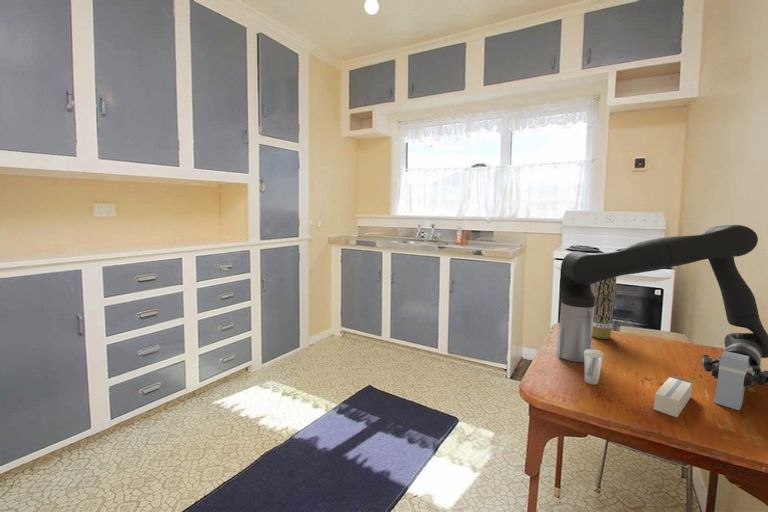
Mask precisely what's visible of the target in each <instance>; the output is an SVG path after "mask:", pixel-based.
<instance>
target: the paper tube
mask: <svg viewBox="0 0 768 512" xmlns="http://www.w3.org/2000/svg"><path fill="white" fill-rule="evenodd" d="M616 284H617V277H613V278H610V279H606V280H603V281H599V282H596V283H593V288H592V289H593V290H592V293H593V295H594V297H595V307H594V318H593V330H592V338H596V339H599V340H601V339H602V340H607V339H608V340H609V339H611V337H612V327H613V318H614V309H615V298H616V297H615V296H616V295H615V294H616Z"/></svg>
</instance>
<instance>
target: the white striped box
mask: <svg viewBox="0 0 768 512" xmlns="http://www.w3.org/2000/svg"><path fill="white" fill-rule="evenodd" d="M692 389H693V381H691V380H688V379H684V378H680V377H677V376H674V375H670V376H669V377H668V378H667V379H666V380H665V382H664V383H663V384H662V385H661V386H660V387H659V388H658V390H657V391H656V392H655V394H654V401H653V402H654V403H653V410H655V411H656V412H660V413H663V414H666V415H669V416H672V417H674V418H678V417H679V415H680V414H681V412H682V411H683V409H684V408H685V406H686V405H687V404H688V402H689V400H690V399H691V397H692V392H693V391H692Z"/></svg>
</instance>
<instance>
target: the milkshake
mask: <svg viewBox="0 0 768 512" xmlns="http://www.w3.org/2000/svg"><path fill="white" fill-rule="evenodd" d="M593 346H594V344H593V342H591V349H586V350H585V351H584V362H583V365H584V366H583V368H584V369H583V372H584V373H583V374H584V376H583V380H584V382H585V383H587V384H589V385H598V384H599V381H600V380H599V379H600V374H601V368H602V363H603V358H604V354H603V352H602V351H601V350H599V349H594V347H593Z"/></svg>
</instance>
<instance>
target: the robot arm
mask: <svg viewBox="0 0 768 512" xmlns="http://www.w3.org/2000/svg"><path fill="white" fill-rule="evenodd" d="M758 242H759V237H758V234H757V233H756V231H754V230H753V229H752V228H750V227H748V226H745V225H741V224H727V225H718V226H717V225H716V226H713V227H710V228H708V229H707V230H706V231H705V232H704V233H702V234H694V235H678V236H677V235H675V236H666V237H659V238H653V239H648V240H643V241H640V242H636V243H633V244H631V245H629V246H627V247H624V248H623V249H620V250H618V251H613V252H606V253H593V254H592V253H588V252H587V253H586V252H583V251H576V250H575V251H571V252H568V253H567V254H566V255H565V256H564V258H563V259H562V261H561V264H560V271H559V274H560V275H559V276H560V278H559V293H560V295H561V303H560V316H559V317H560V318H559V323H558V328H557V329H558V330H557V342H556V354H557V357H558V358H559V359H563V360H567V361H570V362H576V363H584V351H585V350H586V349H591V343H593V342H592V340H593V336H592V330H593V318H594V307H595V297H594V295H593V290H592V288H591V284H594V283H596V282H599V281H603V280H606V279H610V278H613V277H616V278H617V277H621V276H627V275H635V274H641V273H648V272H655V271H660V270H666V269H670V268H675V267H679V266H684V265H687V264H693V263H696V262H700V261H704V260H708V262H709V265H710V267H711V269H712V272H713V274H714V276H715V278H716V281H717V284H718V287H719V290H720V293H721V297H722V302H723V306H724V311H725V314H726V315H725V316H726V320H727V323H728V324H729V325H731V326H734V327H739V328H744V329H746V330H749V331H750V332H732V333H731V332H730V333H728V334H726V335H725V338H724V340H723V341H724V347H725V349H724V350H723V352H724V351H727V352H732V353H736V354H741V355H745V356H749V362H748V370H747V373H746V375H745V378H744V384H743V386H745V388H748V386H749V387H753V384H754V383H757V384H758V385H759V386H763V387H764V386H766V385H768V369H767V370H765V369H764V370H762V369H761V367H762V365H761V364H762V359H767V358H768V333H767V331H766V329H765V327H764V325H763V323H762V322H761V318H760V314H759V310H758V305H757V301H756V300H757V299H756V297H755V295H754V292H753V291H752V290H751V288H750V286H749V285H748V284H747V283H746V281H745V280H744V278H743V277H742V275H741V274H740V271H739V270H738V267H737V265H736V261H735V257H737V258H738V257H741V256H745V255H747V254H749V253H751V252H752V251H753V250H754V249H755V248H756V247H757V245H758ZM723 352H722V353H721V355H722V354H723ZM721 355H720V357H717V358H715V359H714V358H713V357H711V356H709V355H708V354H703V355H702V363H701V364H702V366H703V369H704V370H705V372H709V373H711V376H712V377H714V379H717V380H718V374H719V365H720V359H721Z"/></svg>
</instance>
